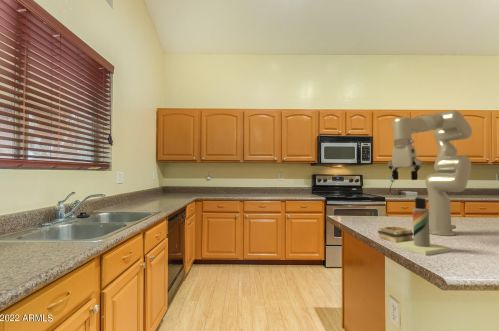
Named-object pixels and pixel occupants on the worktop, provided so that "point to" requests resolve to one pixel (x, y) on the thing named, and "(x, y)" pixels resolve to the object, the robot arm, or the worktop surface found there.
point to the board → (422, 248)
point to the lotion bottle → (421, 223)
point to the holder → (395, 234)
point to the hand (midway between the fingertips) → (404, 179)
